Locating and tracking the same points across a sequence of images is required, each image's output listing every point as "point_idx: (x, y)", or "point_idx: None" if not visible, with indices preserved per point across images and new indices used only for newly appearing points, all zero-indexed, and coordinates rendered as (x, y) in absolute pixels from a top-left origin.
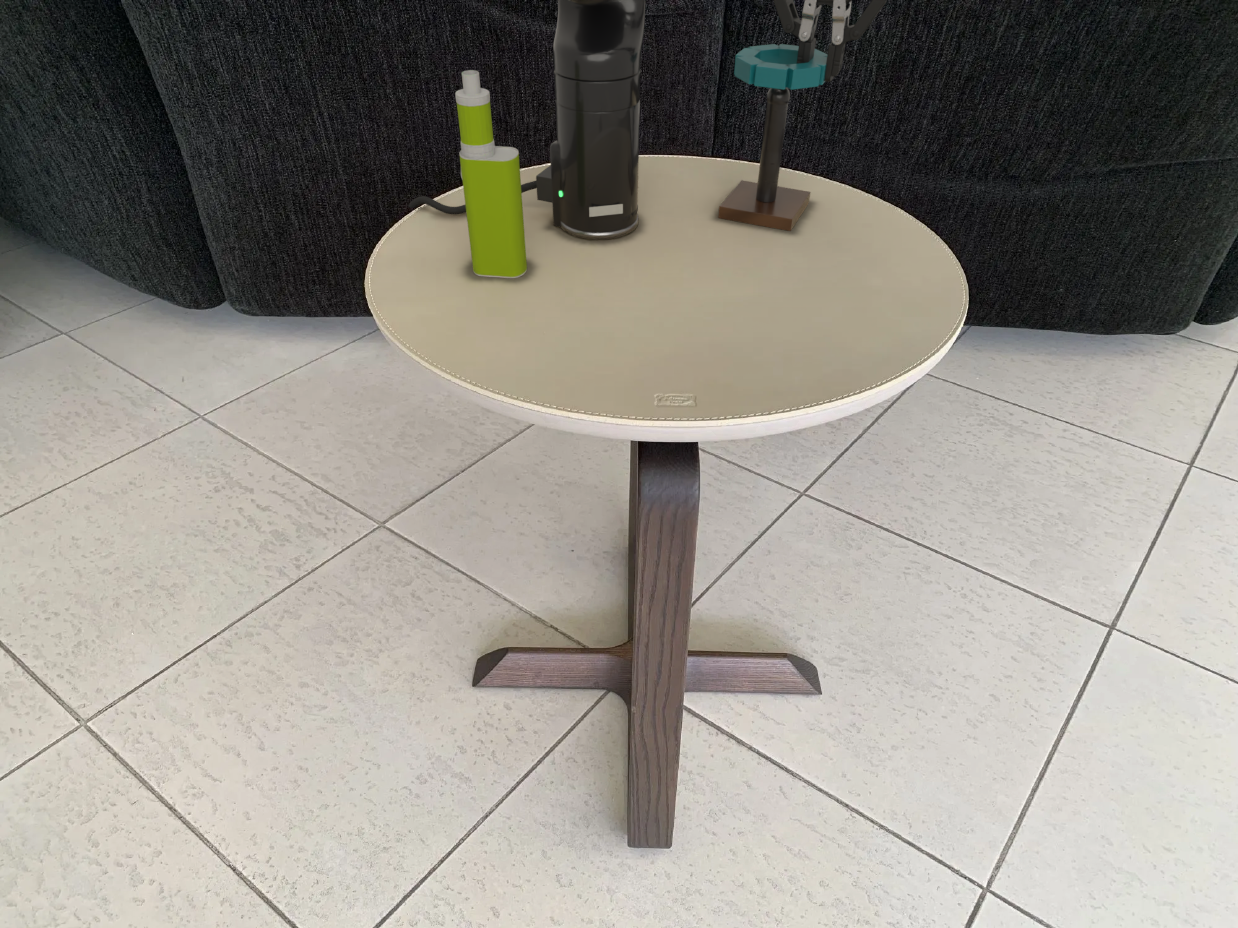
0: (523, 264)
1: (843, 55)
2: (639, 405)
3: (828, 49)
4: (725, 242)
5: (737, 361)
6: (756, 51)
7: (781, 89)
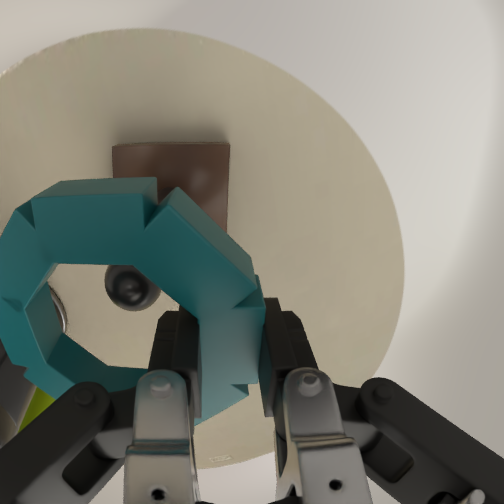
0: (53, 400)
1: (309, 344)
2: (206, 463)
3: (263, 406)
4: (160, 303)
5: (242, 434)
6: (22, 322)
7: (139, 308)
